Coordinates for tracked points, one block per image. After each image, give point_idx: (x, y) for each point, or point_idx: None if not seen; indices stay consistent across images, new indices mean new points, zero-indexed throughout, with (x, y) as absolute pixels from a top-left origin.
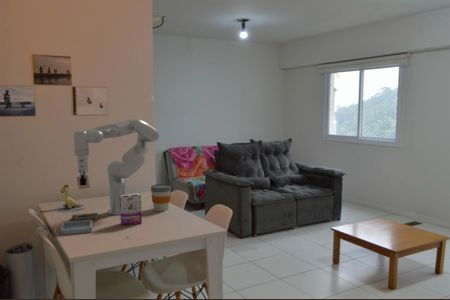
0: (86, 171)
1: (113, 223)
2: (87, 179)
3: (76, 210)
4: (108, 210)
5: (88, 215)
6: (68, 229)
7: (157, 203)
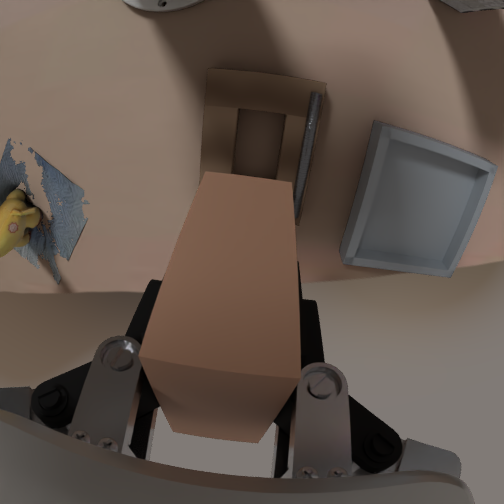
0: (470, 501)
1: (415, 25)
2: (295, 303)
3: (62, 184)
4: (145, 7)
5: (236, 125)
6: (461, 250)
7: None
